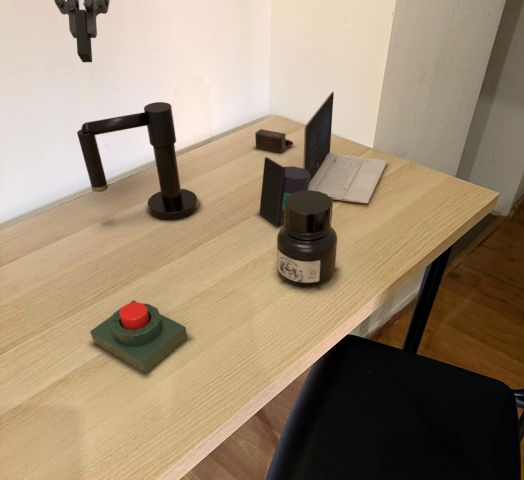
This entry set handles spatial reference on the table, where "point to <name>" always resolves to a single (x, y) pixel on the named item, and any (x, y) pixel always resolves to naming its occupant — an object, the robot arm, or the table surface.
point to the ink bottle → (307, 240)
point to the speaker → (280, 188)
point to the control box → (140, 339)
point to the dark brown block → (271, 140)
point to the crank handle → (153, 117)
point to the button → (134, 316)
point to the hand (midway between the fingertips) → (85, 58)
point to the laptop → (337, 162)
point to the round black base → (170, 189)
